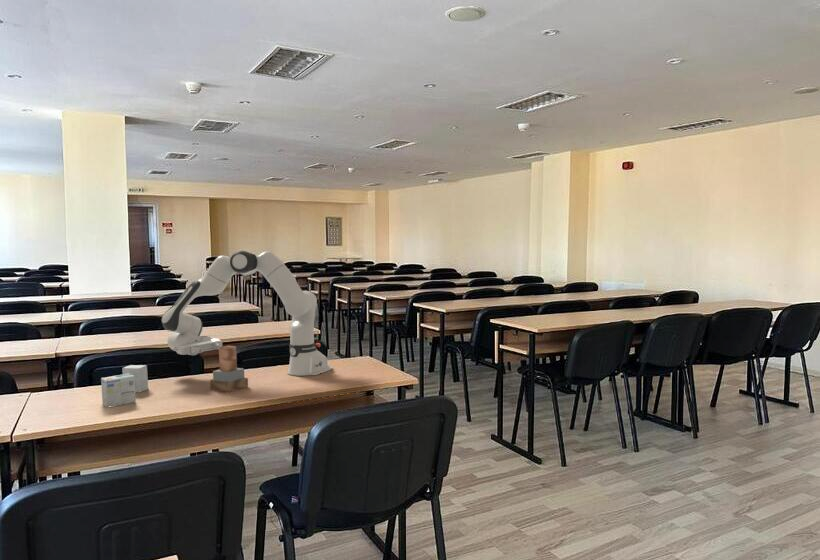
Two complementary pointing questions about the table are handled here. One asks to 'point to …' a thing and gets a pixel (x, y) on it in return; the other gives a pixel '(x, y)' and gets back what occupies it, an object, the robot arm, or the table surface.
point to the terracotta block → (227, 358)
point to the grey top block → (228, 375)
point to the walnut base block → (229, 385)
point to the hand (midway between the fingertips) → (209, 348)
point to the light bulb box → (118, 390)
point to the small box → (138, 376)
